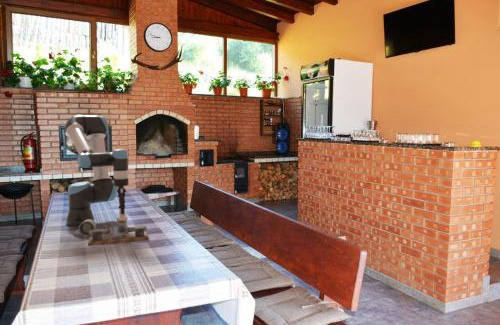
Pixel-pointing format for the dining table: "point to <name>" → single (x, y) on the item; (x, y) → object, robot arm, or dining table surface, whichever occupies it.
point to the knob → (122, 224)
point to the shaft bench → (118, 235)
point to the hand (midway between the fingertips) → (122, 217)
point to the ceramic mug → (86, 227)
